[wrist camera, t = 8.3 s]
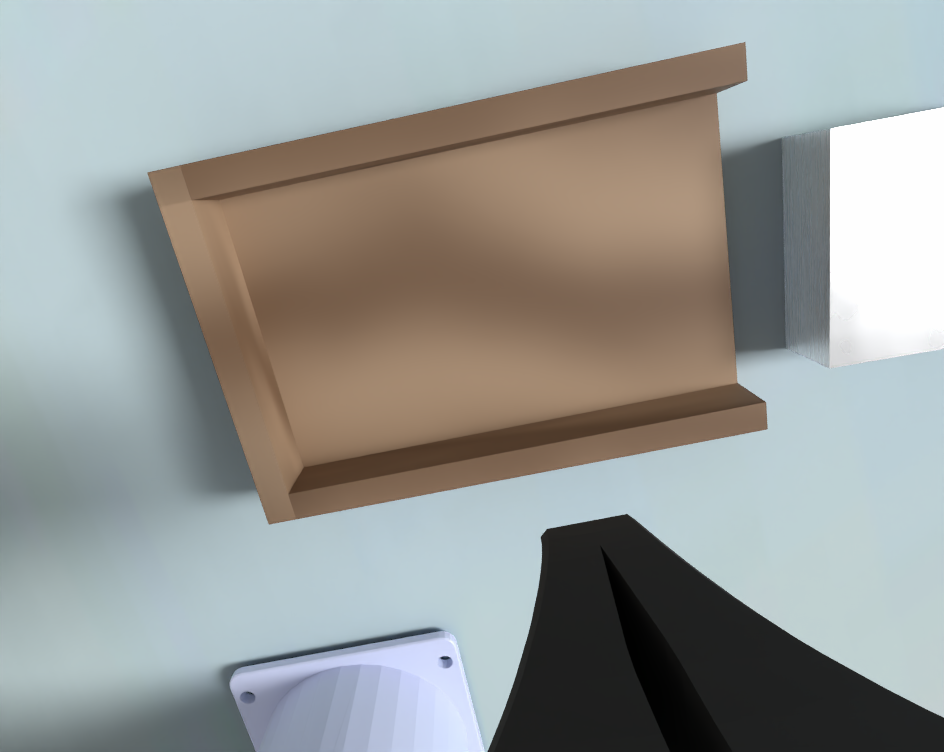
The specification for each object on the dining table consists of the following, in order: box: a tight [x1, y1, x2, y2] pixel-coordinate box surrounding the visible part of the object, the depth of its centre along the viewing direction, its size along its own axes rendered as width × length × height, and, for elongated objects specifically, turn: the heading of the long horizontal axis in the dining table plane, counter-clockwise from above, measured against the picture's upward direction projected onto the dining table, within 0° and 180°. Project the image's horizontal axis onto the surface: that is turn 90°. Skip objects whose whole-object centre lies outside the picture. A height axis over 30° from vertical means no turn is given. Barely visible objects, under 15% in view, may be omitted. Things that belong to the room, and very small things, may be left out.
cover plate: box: [782, 108, 944, 368], centre depth 16 cm, size 6×5×2 cm
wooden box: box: [148, 42, 767, 524], centre depth 16 cm, size 10×14×2 cm
